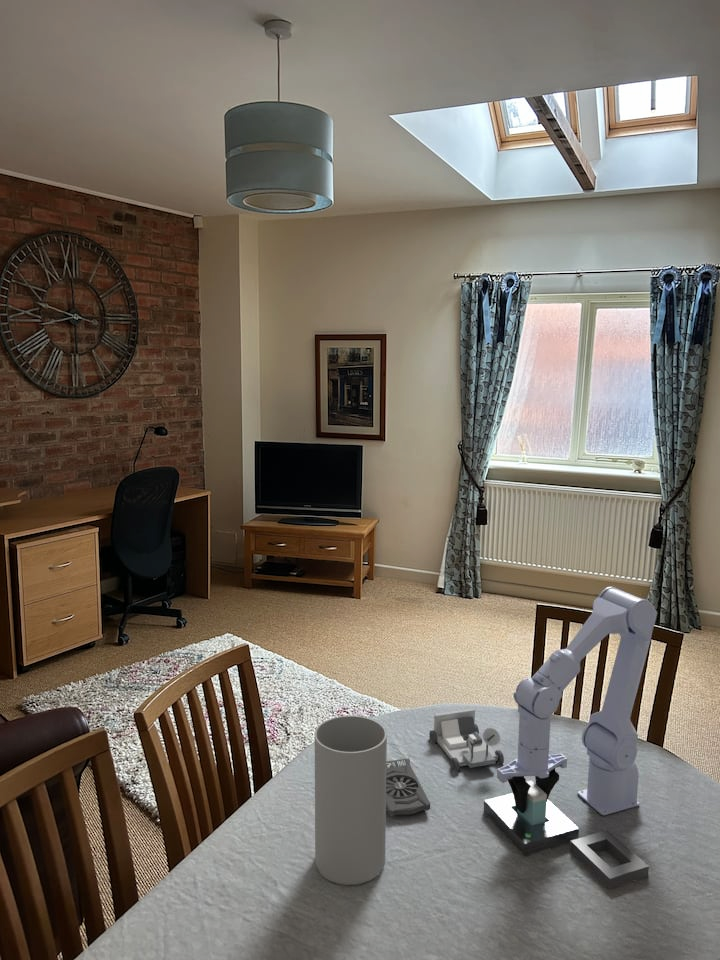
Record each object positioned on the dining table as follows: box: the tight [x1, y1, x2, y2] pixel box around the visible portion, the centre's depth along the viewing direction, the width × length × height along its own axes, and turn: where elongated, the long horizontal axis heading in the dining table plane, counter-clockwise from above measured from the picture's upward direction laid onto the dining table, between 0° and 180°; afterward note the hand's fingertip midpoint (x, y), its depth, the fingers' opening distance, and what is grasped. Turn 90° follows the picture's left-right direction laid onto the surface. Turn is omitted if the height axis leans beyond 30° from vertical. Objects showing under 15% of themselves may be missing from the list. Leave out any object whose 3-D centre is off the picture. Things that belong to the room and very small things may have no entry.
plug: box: [517, 779, 547, 827], centre depth 139 cm, size 3×5×8 cm, turn 22°
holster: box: [569, 829, 650, 890], centre depth 130 cm, size 8×10×2 cm
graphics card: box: [386, 756, 431, 817], centre depth 150 cm, size 17×4×12 cm
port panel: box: [483, 792, 580, 857], centre depth 140 cm, size 12×14×3 cm
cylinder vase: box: [314, 715, 388, 886], centre depth 128 cm, size 12×12×25 cm
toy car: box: [428, 707, 505, 773], centre depth 164 cm, size 18×10×12 cm
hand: (530, 807), depth 139 cm, fingers open, 4 cm apart
